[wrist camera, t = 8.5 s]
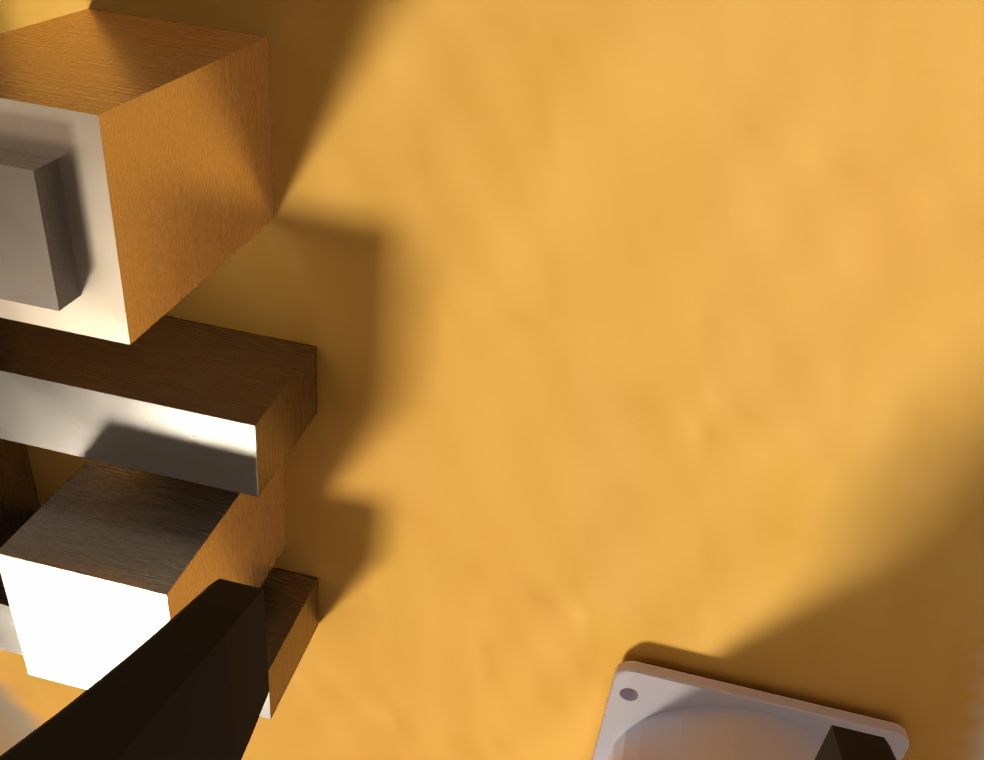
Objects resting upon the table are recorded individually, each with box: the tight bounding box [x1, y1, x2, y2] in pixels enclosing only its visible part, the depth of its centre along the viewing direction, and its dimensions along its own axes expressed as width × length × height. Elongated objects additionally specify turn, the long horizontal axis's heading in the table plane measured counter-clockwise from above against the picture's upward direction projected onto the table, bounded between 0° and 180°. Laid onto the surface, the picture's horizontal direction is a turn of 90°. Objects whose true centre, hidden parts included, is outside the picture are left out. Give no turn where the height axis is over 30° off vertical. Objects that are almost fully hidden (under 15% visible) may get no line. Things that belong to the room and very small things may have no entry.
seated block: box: [0, 459, 286, 690], centre depth 23 cm, size 4×4×6 cm
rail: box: [0, 316, 318, 720], centre depth 21 cm, size 22×10×4 cm, turn 175°
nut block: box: [0, 9, 274, 345], centre depth 17 cm, size 4×4×7 cm
